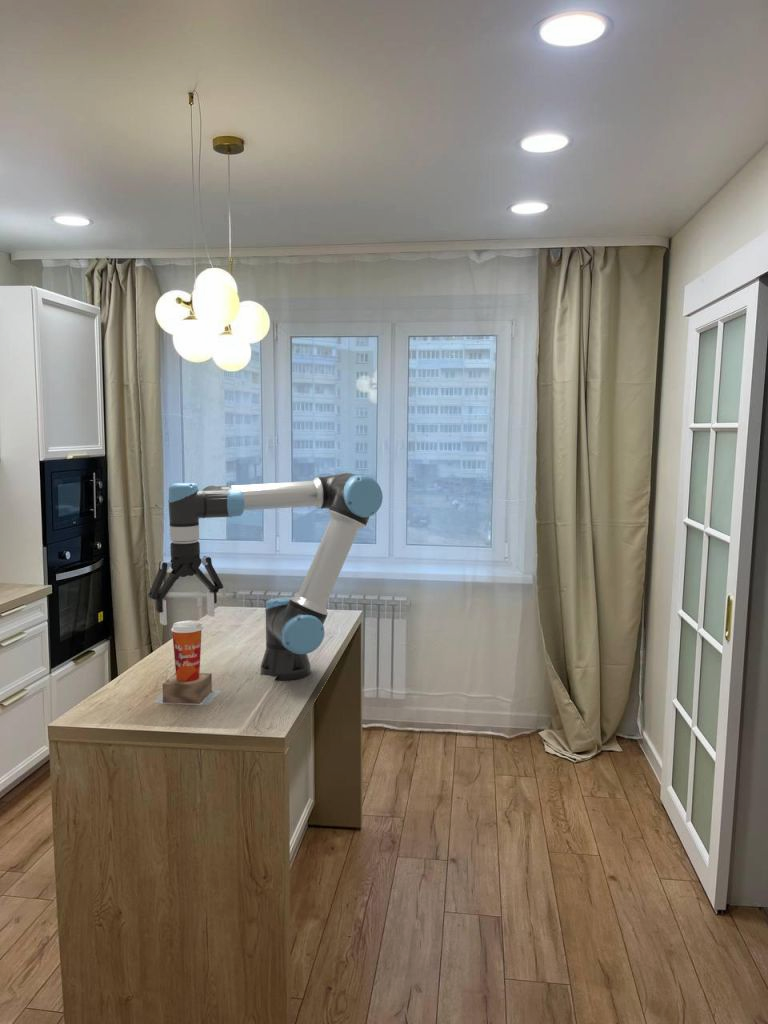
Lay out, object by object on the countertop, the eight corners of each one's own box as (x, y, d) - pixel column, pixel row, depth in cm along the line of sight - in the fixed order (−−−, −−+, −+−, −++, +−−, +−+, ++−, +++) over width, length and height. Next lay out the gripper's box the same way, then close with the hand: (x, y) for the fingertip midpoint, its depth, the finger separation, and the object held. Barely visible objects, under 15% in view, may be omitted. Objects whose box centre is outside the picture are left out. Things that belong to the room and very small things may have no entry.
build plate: (221, 694, 202) (221, 690, 202) (208, 709, 191) (208, 705, 191) (168, 692, 203) (168, 688, 203) (153, 707, 192) (152, 703, 192)
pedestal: (211, 690, 202) (211, 673, 201) (199, 703, 192) (199, 685, 191) (176, 689, 202) (176, 671, 202) (162, 702, 192) (162, 683, 192)
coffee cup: (171, 684, 192) (170, 628, 190) (172, 674, 199) (171, 620, 198) (204, 681, 194) (203, 626, 192) (203, 672, 202) (202, 619, 200)
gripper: (220, 535, 204) (223, 609, 206) (133, 544, 188) (136, 625, 190) (233, 538, 198) (236, 614, 200) (144, 547, 182) (148, 630, 184)
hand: (187, 619), depth 195 cm, fingers open, 13 cm apart
